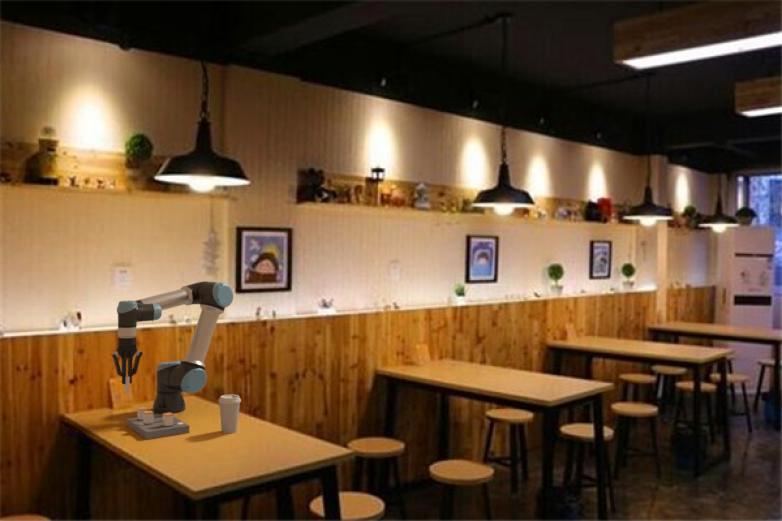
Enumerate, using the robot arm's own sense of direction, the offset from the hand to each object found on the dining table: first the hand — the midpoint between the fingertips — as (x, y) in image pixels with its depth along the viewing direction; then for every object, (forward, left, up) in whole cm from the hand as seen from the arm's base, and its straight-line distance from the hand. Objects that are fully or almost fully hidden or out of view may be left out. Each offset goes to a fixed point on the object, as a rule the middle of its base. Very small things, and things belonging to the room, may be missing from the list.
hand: (126, 391), depth 296 cm
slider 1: (-7, 0, -13) cm, 15 cm away
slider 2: (-12, +16, -13) cm, 24 cm away
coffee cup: (-35, +28, -16) cm, 47 cm away
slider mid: (-7, +8, -13) cm, 16 cm away
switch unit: (-11, +8, -16) cm, 21 cm away
